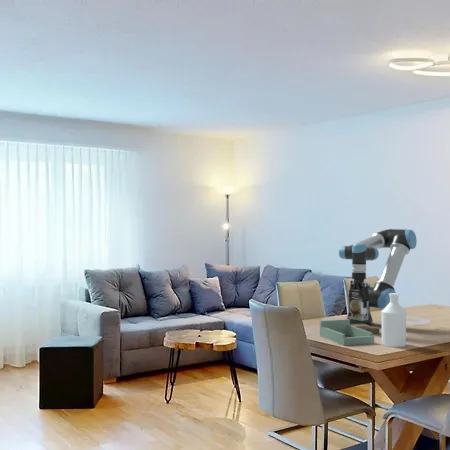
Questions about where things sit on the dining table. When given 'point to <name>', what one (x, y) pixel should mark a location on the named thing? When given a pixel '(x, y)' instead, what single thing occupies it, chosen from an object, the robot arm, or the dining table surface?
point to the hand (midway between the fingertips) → (358, 312)
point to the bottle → (393, 323)
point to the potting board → (366, 328)
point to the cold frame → (344, 332)
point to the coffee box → (356, 305)
